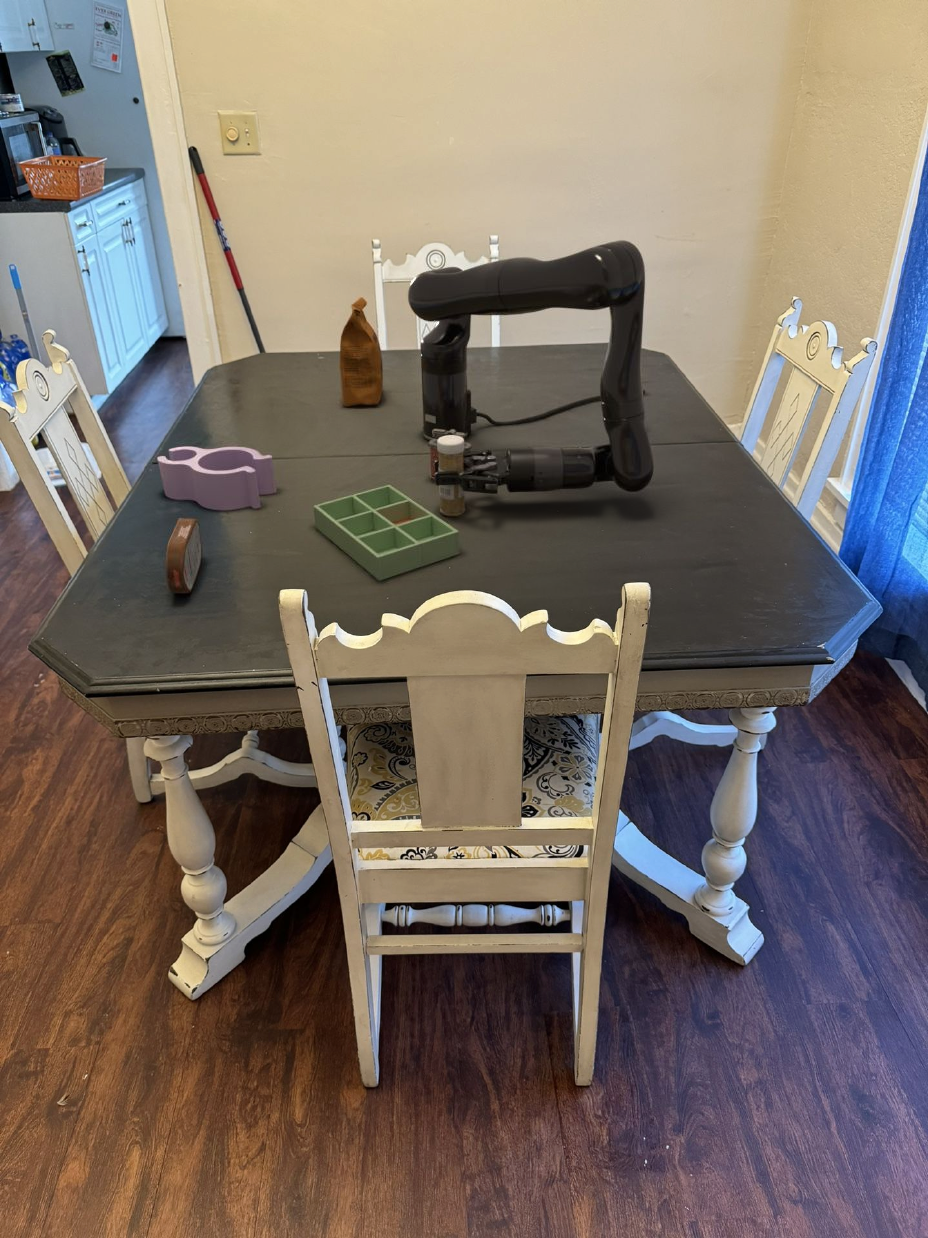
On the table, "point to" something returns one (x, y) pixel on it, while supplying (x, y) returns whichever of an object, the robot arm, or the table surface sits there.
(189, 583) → the tin
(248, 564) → the table surface
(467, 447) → the lighter
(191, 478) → the clip
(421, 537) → the organizer
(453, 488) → the sprinkles bottle
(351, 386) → the coffee package
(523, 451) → the robot arm
